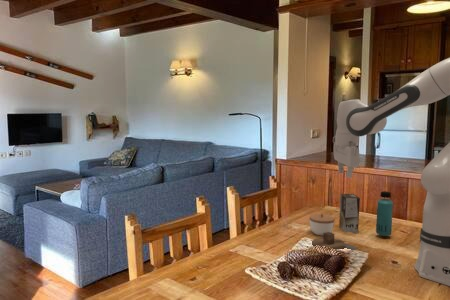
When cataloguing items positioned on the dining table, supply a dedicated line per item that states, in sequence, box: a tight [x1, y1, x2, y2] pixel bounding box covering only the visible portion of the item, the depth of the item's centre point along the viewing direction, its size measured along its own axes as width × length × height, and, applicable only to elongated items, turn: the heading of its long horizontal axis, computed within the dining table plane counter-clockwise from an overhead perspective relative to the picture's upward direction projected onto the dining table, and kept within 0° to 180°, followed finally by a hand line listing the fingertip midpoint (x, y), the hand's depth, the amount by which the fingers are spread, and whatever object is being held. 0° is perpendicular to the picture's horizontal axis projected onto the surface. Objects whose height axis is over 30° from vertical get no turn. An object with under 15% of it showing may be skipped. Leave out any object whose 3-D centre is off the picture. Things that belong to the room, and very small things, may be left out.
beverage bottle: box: [375, 190, 394, 237], centre depth 165 cm, size 6×7×20 cm
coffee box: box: [338, 193, 361, 234], centre depth 174 cm, size 9×6×16 cm
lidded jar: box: [308, 213, 335, 237], centre depth 168 cm, size 11×11×9 cm
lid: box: [311, 232, 347, 249], centre depth 153 cm, size 13×13×5 cm
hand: (344, 174), depth 152 cm, fingers open, 8 cm apart
